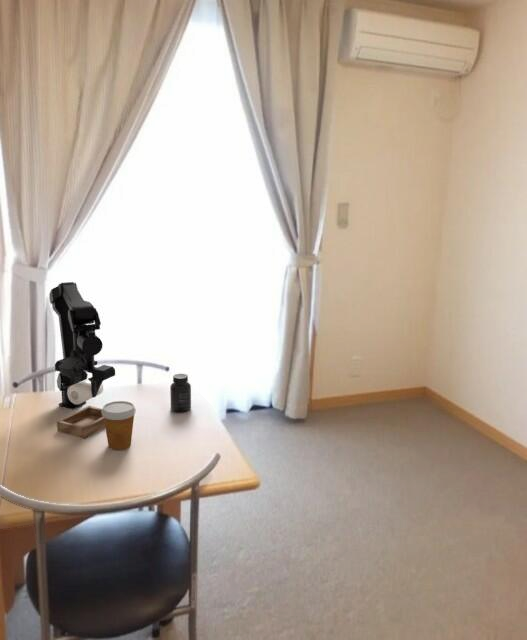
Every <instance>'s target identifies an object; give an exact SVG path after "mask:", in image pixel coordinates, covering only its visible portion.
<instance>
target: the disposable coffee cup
mask: <svg viewBox="0 0 527 640" xmlns="http://www.w3.org/2000/svg"><path fill="white" fill-rule="evenodd" d="M102 409H103V410H102V411H101V414H102V415H103V417H104V423H105V433H106V439H107V445H108V446H107V447H108V448H109V449H110V450H113V451H122V450H123V451H124V450H127V449H129V448H130V447H131V446H132V440H133V439H132V435H133V429H134V420H135V418H134V417H135V414H136V411H137V408H136V407H135V404H134V403H133V402H131V401H127V400H126V401H125V400H116V401H115V400H114V401H111V402H108V403H106V404H104V405H103V406H102Z"/></svg>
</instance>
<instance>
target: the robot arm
mask: <svg viewBox="0 0 527 640" xmlns="http://www.w3.org/2000/svg"><path fill="white" fill-rule="evenodd" d="M48 296H49V297H48V299H49V303H50V304H51V307H52V310H53V312H55V314H56V315H57V316H58V323H59V330H60V338H61V339H60V340H61V341H60V342H61V349H62V350H61V351H62V359H59V360H56V362H55V363H54V370H55V371H56V372H58V373H57V378H56V387H57V388H58V390H59V392H61V402H60V403H58V406H60V407H65V408H68V409H71V410H74V409H76V408H78V407H80V406H82V405H84V404H87V401H85V402H83V403H81V404H78V405H76V404H73V403H72V402H71V401H70V400H69V398H68V395H67V390H68V388H69V387H70V386H72V385H74V384H76V383H79V382H81V381H83V380H85V379H88V378H89V379H88V380H89V381H90V382H91V390H92V397H93V398H92V399H94V398H96V397H97V396H98V395H97V393H98V390H99V388H100V386H101V384H102V383H103V382H104V381H106V380H108V379H110V378H113V377H115V376H116V368H115V367H114V366H111V365H107V364H106V365H105V364H102V365H100V366H98V367H96V366H97V365H98V361H97V360H95V356H96V355H98V354H100V352H101V351H102V350H103V341H102V340H101V339H100V337H99V336H98V335H97V334H96V331H97V330H101V327H100V326H101V323H102V322H101V319H100V315H99V313H98V310H97V308H96V307H95V306H94V305H93V304H92V303H91V302H90V301H86V300H84V298H83V296H82V294H81V293H80V291H79V289H78V285H77V283H76V282H74V281H71V282H70V281H67V282H65V281H64V282H60V283H58V285H57V286H55V287H53V288H52V289H50V291H49V295H48ZM88 373H89V374H91V376H90V377H91V378H90V377H88V376H89V375H88ZM96 395H97V396H96Z"/></svg>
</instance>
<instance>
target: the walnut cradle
mask: <svg viewBox="0 0 527 640" xmlns="http://www.w3.org/2000/svg"><path fill="white" fill-rule="evenodd" d="M102 410H103V408H101V407H96V406H92V405H88V406H86V407H83V408H82V409H78V411H76V412H74V413H72V414H69V415H68V416H65V417H64V418H63V417H62V418H61V419H59V420H57V421H56V426H57V427H56V429H57V432H59V433H63V434H67V435H69V436H74V437H77V438H80V439H84V440H85V439H87V438H88V437H92V435H94V434H96V433H99V432H100V431H101V430H102V429H104V428H105V423H104V417H103V415H102V414H101V411H102Z"/></svg>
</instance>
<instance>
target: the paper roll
mask: <svg viewBox="0 0 527 640" xmlns="http://www.w3.org/2000/svg"><path fill="white" fill-rule="evenodd" d="M91 377H92V376H90V377H87V379H85V380H83V381H81V382H79V383H76V384H74V385H72V386H70V387H69V388H68V390H67V395H68V398H69V400H70V401H71V402H72V403H73V404H76V405H78V404H81V403H83V402H85V401H86V402H87V401H88V400H92V399H94V398H93V397H92V390H91V382H90V381H89V380H88V379H89V378H91ZM103 391H104V384H103V382H102V384H101V386H100V388H99V390H98V393H97V395H96V397H97V396H99V395H101V394H102V393H103Z"/></svg>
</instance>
